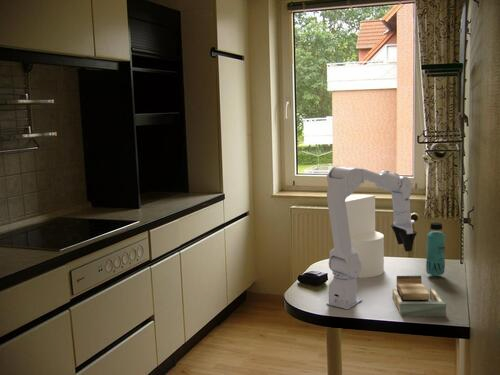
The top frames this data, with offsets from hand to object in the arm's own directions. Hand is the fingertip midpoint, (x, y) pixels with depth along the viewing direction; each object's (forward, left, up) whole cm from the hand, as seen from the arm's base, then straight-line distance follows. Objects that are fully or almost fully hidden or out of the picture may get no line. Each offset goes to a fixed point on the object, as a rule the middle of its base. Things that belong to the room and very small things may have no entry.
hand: (404, 247), depth 186 cm
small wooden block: (-10, -7, -13) cm, 18 cm away
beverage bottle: (+13, -6, -13) cm, 20 cm away
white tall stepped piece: (+5, +20, -13) cm, 25 cm away
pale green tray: (-17, -12, -13) cm, 25 cm away
